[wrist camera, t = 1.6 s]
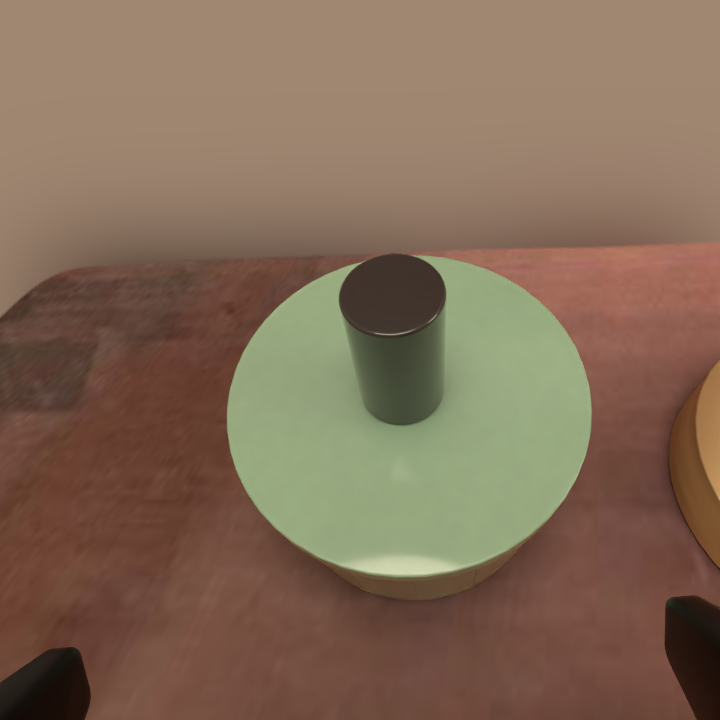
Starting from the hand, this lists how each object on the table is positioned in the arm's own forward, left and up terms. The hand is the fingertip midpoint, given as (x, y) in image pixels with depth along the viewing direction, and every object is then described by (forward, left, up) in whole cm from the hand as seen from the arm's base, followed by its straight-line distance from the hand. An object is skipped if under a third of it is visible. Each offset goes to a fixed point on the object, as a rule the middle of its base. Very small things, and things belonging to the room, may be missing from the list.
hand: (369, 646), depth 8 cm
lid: (+4, -7, -7) cm, 11 cm away
